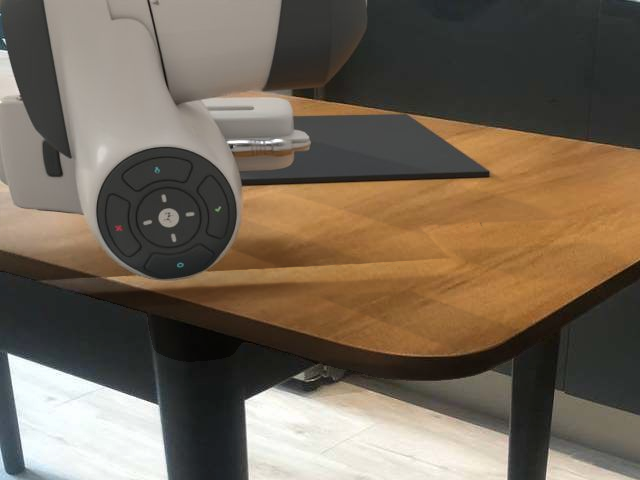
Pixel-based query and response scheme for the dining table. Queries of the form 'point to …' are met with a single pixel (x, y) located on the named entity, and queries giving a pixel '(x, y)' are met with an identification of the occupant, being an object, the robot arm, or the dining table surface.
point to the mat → (368, 152)
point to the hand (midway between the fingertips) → (140, 112)
